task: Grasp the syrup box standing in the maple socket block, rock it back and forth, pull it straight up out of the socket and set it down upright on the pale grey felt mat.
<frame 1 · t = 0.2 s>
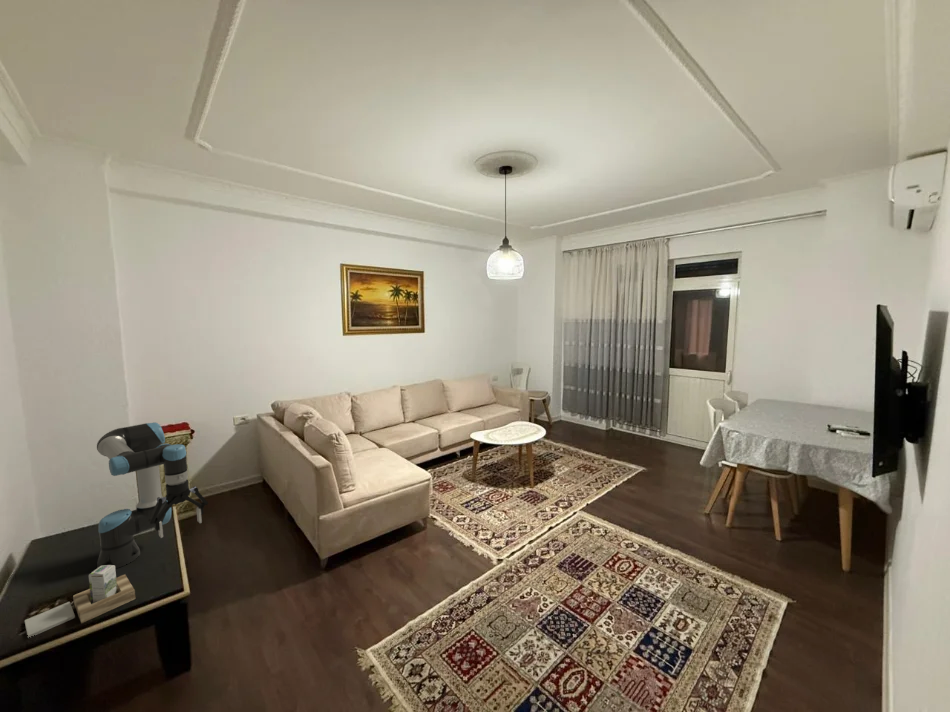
hand: (181, 528, 162), 28 cm above the table, fingers open, 13 cm apart
socket block: (105, 601, 157), on the table
syrup box: (105, 602, 157), resting in socket block
mat: (50, 620, 148), on the table
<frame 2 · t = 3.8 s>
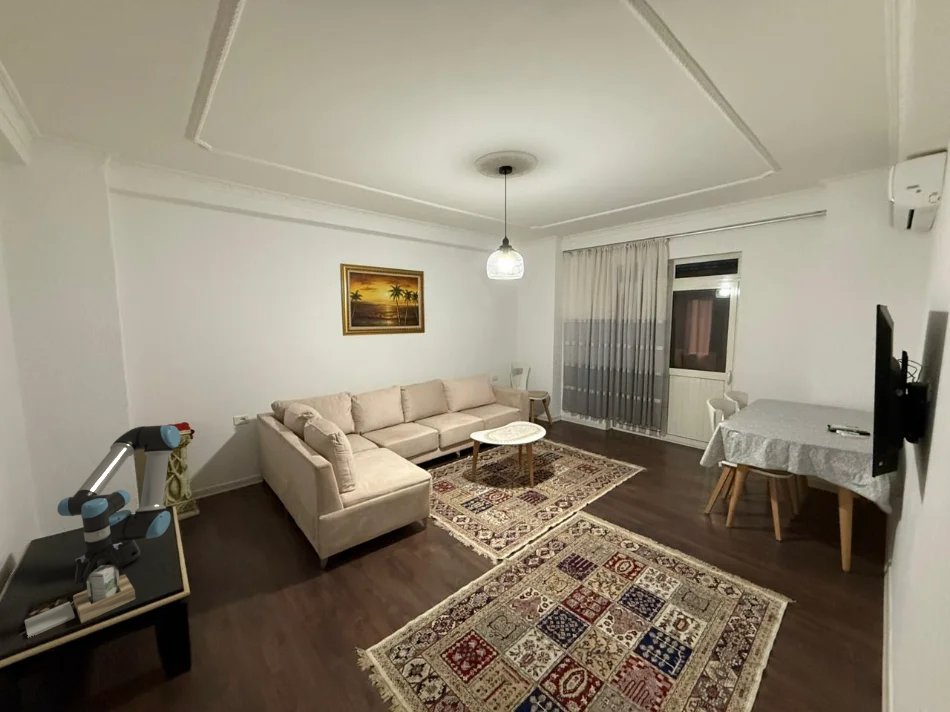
hand: (103, 588, 157), 6 cm above the table, fingers closed on syrup box, 8 cm apart
syrup box: (105, 602, 157), resting in socket block, touching gripper
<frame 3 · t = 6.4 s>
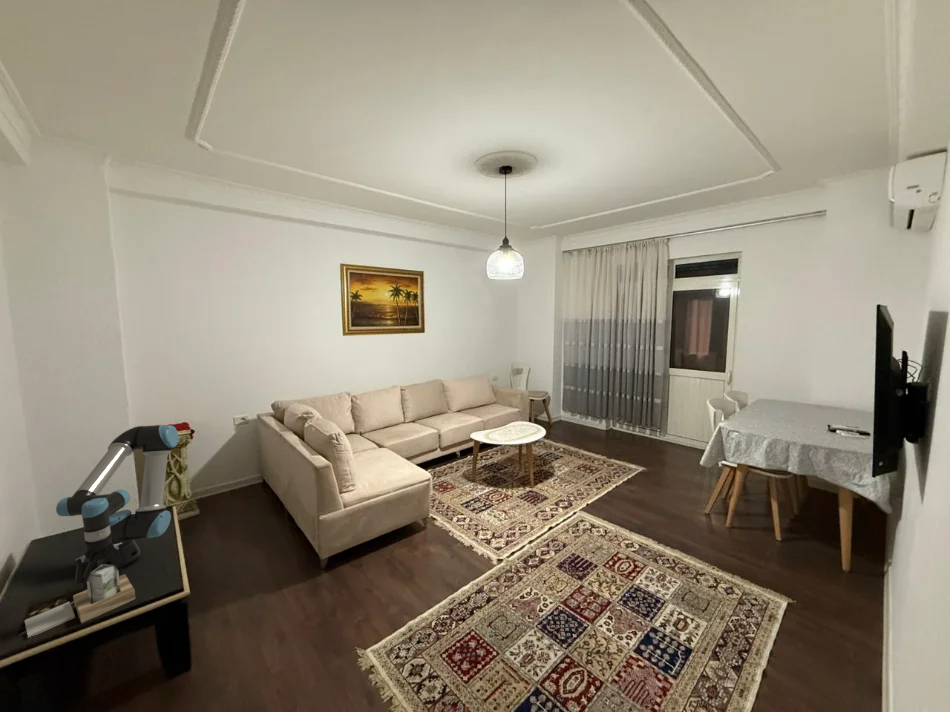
hand: (103, 589, 156), 6 cm above the table, fingers closed on syrup box, 8 cm apart
syrup box: (105, 601, 157), point 1 cm above the table, touching gripper
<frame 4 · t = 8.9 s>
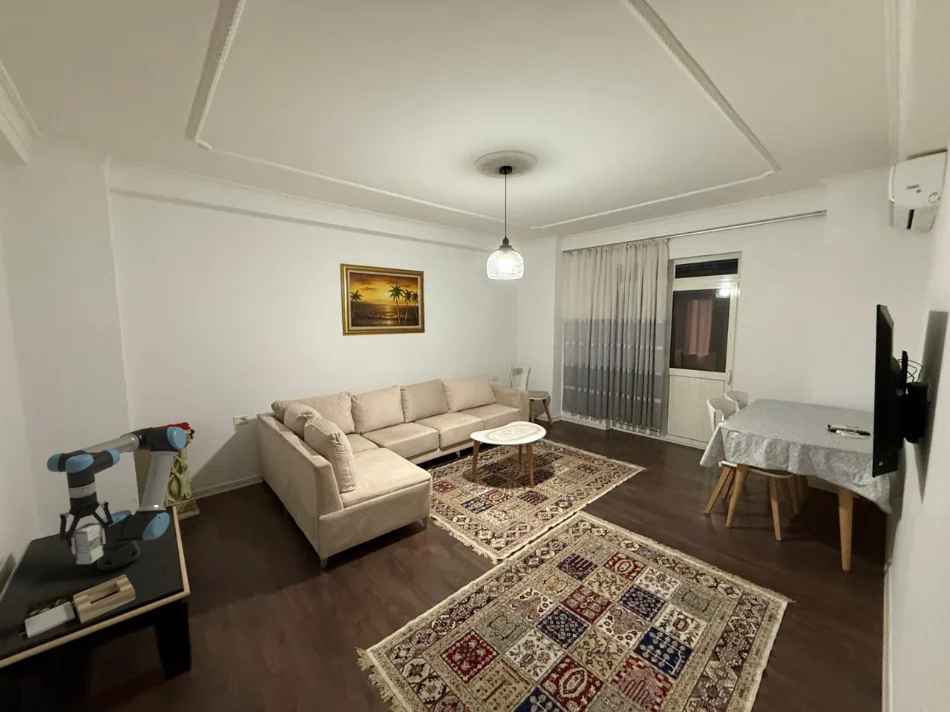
hand: (89, 547, 153), 25 cm above the table, fingers closed on syrup box, 8 cm apart
syrup box: (90, 560, 154), point 20 cm above the table, touching gripper
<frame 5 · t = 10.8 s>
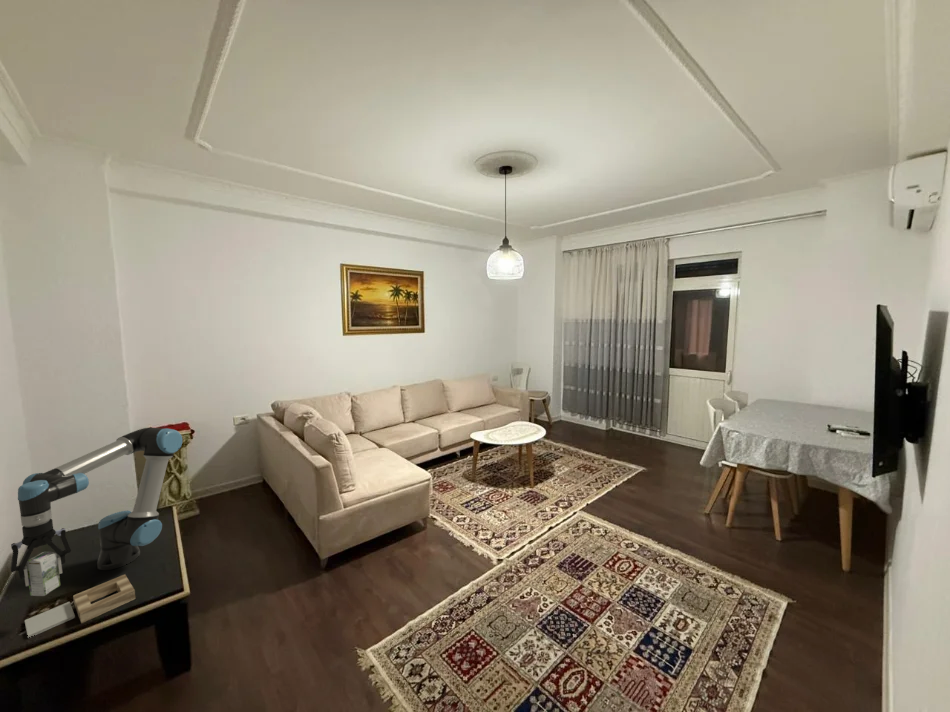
hand: (44, 578, 146), 18 cm above the table, fingers closed on syrup box, 8 cm apart
syrup box: (46, 591, 146), point 12 cm above the table, touching gripper
when the fingers open (8 cm above the table, at t = 12.6 s): syrup box drops 2 cm, resting on mat.
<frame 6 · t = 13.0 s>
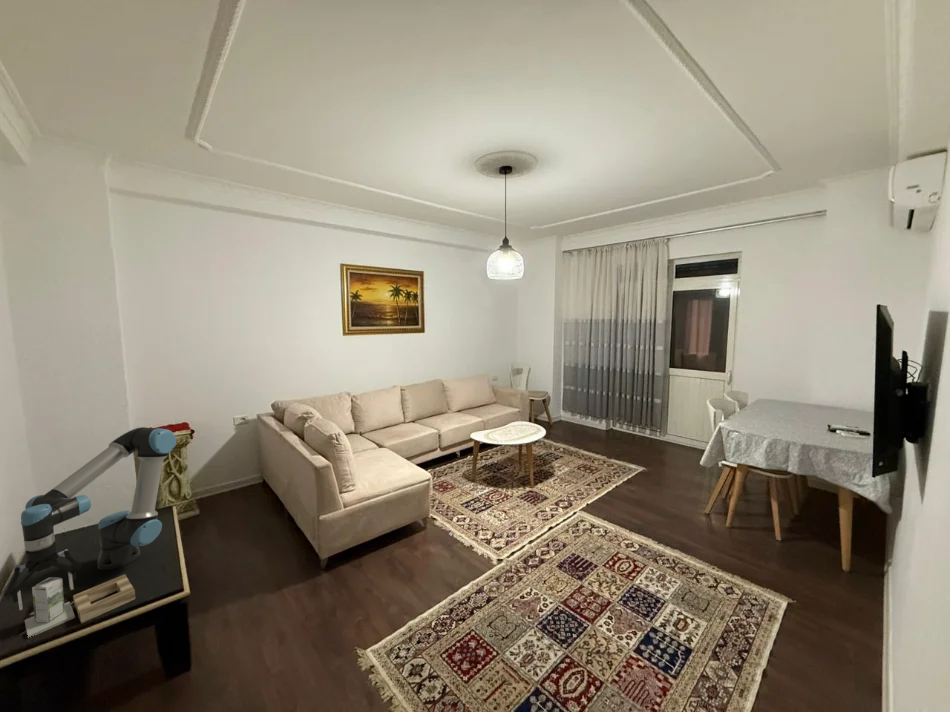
hand: (47, 597, 147), 10 cm above the table, fingers open, 12 cm apart
syrup box: (50, 617, 148), point 1 cm above the table, touching mat
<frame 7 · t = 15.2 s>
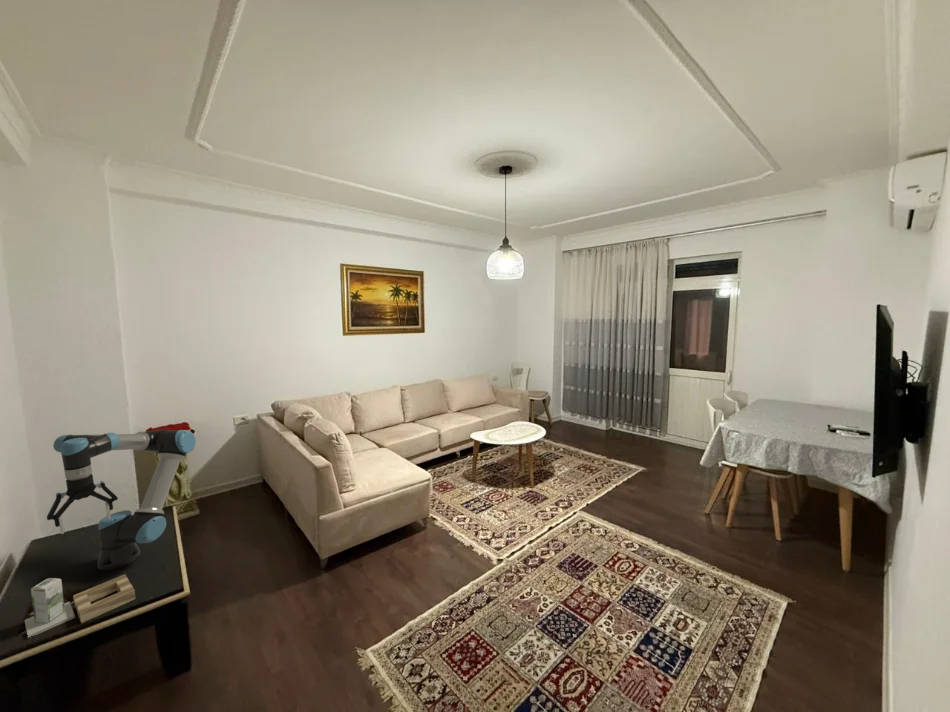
hand: (86, 525, 156), 32 cm above the table, fingers open, 13 cm apart
nothing on the table moved.
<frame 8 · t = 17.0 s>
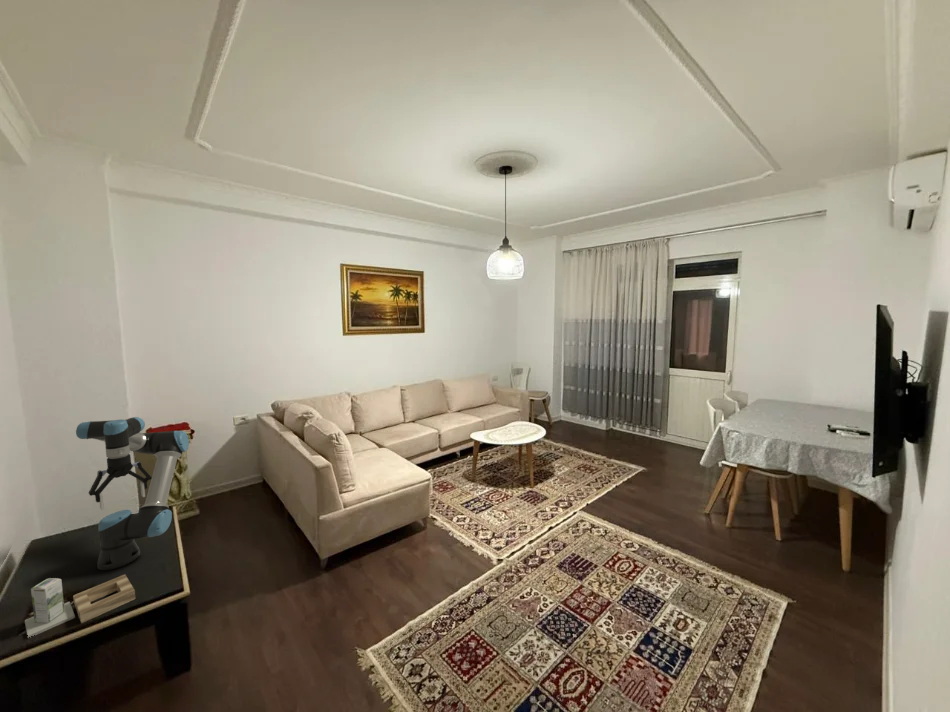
hand: (123, 502, 166), 37 cm above the table, fingers open, 13 cm apart
nothing on the table moved.
at the end: syrup box inside the target area on the mat (0.3 cm from its centre), point 0.8 cm above the mat's base; syrup box tilted 0°; the gripper is holding nothing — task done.
